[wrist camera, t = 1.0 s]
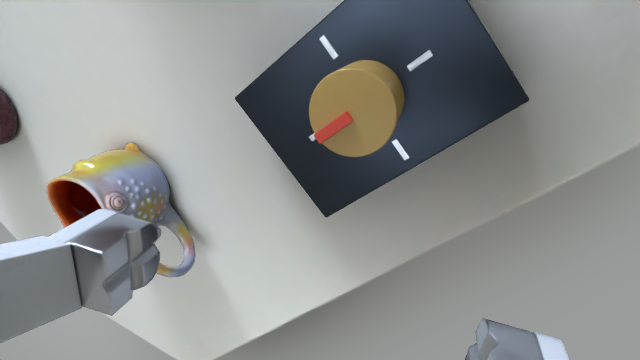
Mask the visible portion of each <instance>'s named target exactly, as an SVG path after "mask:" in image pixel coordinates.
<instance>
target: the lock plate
mask: <svg viewBox="0 0 640 360" xmlns="http://www.w3.org/2000/svg"><path fill="white" fill-rule="evenodd" d="M360 60H372V61H377V62H380V63H382V64H384V65H386V66H387V67H389V68H390V69H391V70H392V71H393V72H394V73H395V74H396V75H397V76H398V78H399V80H400V82H401V84H402V87H403V91H404V106H403V110H402V113H401V115H400V117H399V120H398V122H397V124H396V127H395V129H394V131H393V134H392V135H391V137H390V139H389V140H388V141H387V143H386V144H385V145H384V146H383V147H381V148H380V149H379V150H377V151H375V152H374V153H372V154H369V155H366V156H361V157H348V156H343V155H340V154H337V153H335V152H333V151H331V150H330V149H328V148H327V147H326V146H325V145H323V144H322V143H321V144H319V142H318V141H317V140H316V138H315V137H314V134H315V133H314V131H313V129H312V126H311V123H310V118H309V105H310V100H311V96H312V94H313V92H314V90H315V88H316V87H317V85H318V84H319V83H320V81H321V80H323V79H324V78H325V77H326V76H328V75H329V74H331V73H333V72H335V71H337V70H339V69H341V68H343V67H345V66H347V65H349V64H351V63H353V62H356V61H360ZM235 100H236V101H237V102H238V103H239V105H240V106H241V107H242V109H243V110H244V111H245V113H246V114H247V115H248V117H249V118H250V119H251V120H252V122H253V123H254V124H255V126H256V127H257V128H258V130H259V131H260V132H261V134H262V135H263V136H264V137H265V139H266V140H267V141H268V143H269V144H270V145H271V147H272V148H273V149H274V151H275V152H276V153H277V155H278V156H279V157H280V158H281V160H282V161H283V162H284V164H285V165H286V166H287V168H288V169H289V170H290V172H291V173H292V174H293V175H294V177H295V178H296V179H297V181H298V182H299V183H300V185H301V186H302V187H303V189H304V190H305V191H306V193H307V194H308V195H309V196H310V198H311V199H312V200H313V202H314V203H315V204H316V206H317V207H318V208H319V210H320V211H321V212H322V213H323V215H324V216H325V217H328V216H330V215H332V214H334V213H335V212H337V211H339V210H340V209H342V208H344V207H346V206H347V205H349V204H351V203H353V202H354V201H356V200H358V199H360V198H361V197H363V196H365V195H366V194H368V193H370V192H372V191H373V190H375V189H377V188H379V187H380V186H382V185H384V184H385V183H387V182H389V181H391V180H392V179H394V178H396V177H398V176H399V175H401V174H403V173H405V172H406V171H408V170H410V169H411V168H413V167H415V166H417V165H418V164H420V163H422V162H424V161H425V160H427V159H429V158H430V157H432V156H434V155H436V154H437V153H439V152H441V151H443V150H444V149H446V148H448V147H449V146H451V145H453V144H455V143H456V142H458V141H460V140H462V139H463V138H465V137H467V136H469V135H470V134H472V133H474V132H475V131H477V130H479V129H481V128H482V127H484V126H486V125H488V124H489V123H491V122H493V121H494V120H496V119H498V118H500V117H501V116H503V115H505V114H507V113H508V112H510V111H512V110H514V109H515V108H517V107H519V106H520V105H522V104H524V103H526V102H527V101H529V98H528V96H527V94H526V93H525V91H524V90H523V88H522V86H521V85H520V83H519V82H518V80H517V78H516V77H515V75H514V74H513V72H512V70H511V69H510V67H509V66H508V64H507V62H506V61H505V59H504V58H503V56H502V54H501V53H500V51H499V50H498V48H497V47H496V45H495V43H494V42H493V40H492V39H491V37H490V35H489V34H488V32H487V31H486V29H485V27H484V26H483V24H482V23H481V21H480V19H479V18H478V16H477V15H476V13H475V11H474V10H473V8H472V7H471V5H470V3H469V2H468V0H344V1H343V2H342V3H341V4H340V5H339V6H337V7H336V8H335V9H334V10H333V11H332V12H331V13H330V14H328V15H327V16H326V17H325V18H324V19H323V20H322V21H321V22H319V23H318V24H317V25H316V26H315V27H314V28H313V29H312V30H310V31H309V32H308V33H307V34H306V35H305V36H304V37H303V38H301V39H300V40H299V41H298V42H297V43H296V44H295V45H294V46H292V47H291V48H290V49H289V50H288V51H287V52H286V53H285V54H283V55H282V56H281V57H280V58H279V59H278V60H277V61H276V62H274V63H273V64H272V65H271V66H270V67H269V68H268V69H267V70H265V71H264V72H263V73H262V74H261V75H260V76H259V77H258V78H256V79H255V80H254V81H253V82H252V83H251V84H250V85H249V86H247V87H246V88H245V89H244V90H243V91H242V92H241V93H240V94H239V95H237V96H236V97H235Z"/></svg>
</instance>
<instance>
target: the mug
mask: <svg viewBox="0 0 640 360" xmlns="http://www.w3.org/2000/svg"><path fill="white" fill-rule="evenodd" d="M46 192H47V196H48V199H49V202H50V204H51V206H52V208H53V209H54V211H55V213H56V215H57V217H58V218H59V220H60V221H61V223H62V224H63V226H64V227H67V226H69V225H71V224H73V223H75V222H76V221H78V220H80V219H82V218H84V217H86V216H87V215H89V214H91V213H93V212H95V211H96V210H98V209H108V210H111V211H115V212H118V213H120V214H121V213H122V214H125V215H128V216H131V217H135V218H138V219H141V220H144V221H147V222H151V223H153V224H154V225H155V226H157V228H158V237H160V236H161V229H160V228H159V227H158V226H166V227H168V228H169V229H170V230H171V231H172V232H173V233H174V234H175V235H176V236H177V238H178V239H179V240H180V242H181V244H182V246H183V252H184V257H183V262H182V264H181V265H180V266H177V267H167V266H165V265H163V264H161V263H159V267H158V270H157V272H156V273H157V274H159V275H162V276H166V277H179V276H182V275H184V274H186V273H187V272H188V271H189V270H190V269H191V268H192V266H193V264H194V262H195V246H194V242H193V239H192V237H191V235H190V233H189V231H188V229H187V227H186V226H185V224H184V223H183V221H182V220H181V218H180V217H179V215H178V214H177V213H176V211H175V210H174V209H173V208H172V206H171V205H170V202H169V198H170V189H169V185H168V182H167V179H166V177H165V175H164V173H163V172H162V170H161V169H160V167H159V166H158V165H157V164H156V163H155V162H154V161H153V160H152V159H151V158H149V157H148V156H147V155H145V154H144V153H142V152H141V151H140V150H139V148H138V146H137V145H136V144H134V143H128V144H127V145H126V147H125V148H124V149H117V150H110V151H106V152H102V153H100V154H97V155H95V156H93V157H91V158H89V159H87V160H80V161H77V162H76V163H75V164H74V165H73V168H72V170H71V171H70V172H69V173H67V174H64V175H62V176H59V177H57V178H55V179H53V180H51V181H50V182H49V183H48V184H47V188H46Z"/></svg>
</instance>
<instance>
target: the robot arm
mask: <svg viewBox="0 0 640 360" xmlns="http://www.w3.org/2000/svg"><path fill="white" fill-rule="evenodd" d="M158 238H159V237H158V228H157V226H155V225H154V224H153V223H151V222H147V221H144V220H141V219H138V218H135V217H131V216H128V215H125V214H122V213H121V214H120V213H118V212H115V211H111V210H108V209H98V210H96V211H95V212H93V213H91V214H89V215H87V216H86V217H84V218H82V219H80V220H78V221H76V222H75V223H73V224H71V225H69V226H67V227H65V228H64V229H62V230H60V231H58V232H56V233H54V234H53V235H51V236H49V237H45V236H39V237H34V238H29V239H24V240H19V241H14V242H10V243H5V244H0V343H2V342H5V341H7V340H9V339H11V338H14V337H16V336H18V335H21V334H23V333H25V332H28V331H30V330H32V329H35V328H37V327H39V326H41V325H44V324H46V323H48V322H51V321H53V320H55V319H57V318H60V317H62V316H65V315H67V314H69V313H71V312H74V311H76V310H78V309H80V308H82V306H83V307H86V308H89V309H93V310H96V311H99V312H102V313H105V314H108V315H111V316H112V315H113V314H114V313H116V312H117V311H118V310H119V309H120V308H121V307H122V306H123V305H124V304H126V303H127V302H128V301H129V300H130V299H131V298H132V294H133V290H136V289H138V288H141V287H144V286H145V285H147V284H148V283H149V282H150V281H151V280H152V279H153V277H154V275H155V273H156V272H157V270H158V267H159V262H160V252H159V251H158V249H157V247H156V246H155V244H154V243H155V242H156V241H157V239H158ZM476 340H477V343H476V344H474V345H472V346H470V347H469V350H468V353H467V355H466V358H465V360H569V357H568V355H567V352H566V350H565V347H564V345H563V342H562V341H561V340H560V339H558V338H555V337H551V336H548V335H543V334H540V333H536V332H530V331H526V330H523V329H519V328H515V327H512V326H508V325H505V324H501V323H498V322H494V321H491V320H487V319H482V320H481V321H480V323H479V325H478V327H477V330H476Z"/></svg>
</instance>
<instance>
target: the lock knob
mask: <svg viewBox="0 0 640 360" xmlns="http://www.w3.org/2000/svg"><path fill="white" fill-rule="evenodd" d="M403 106H404V91H403V87H402V84H401V82H400V80H399V78H398V76H397V75H396V74H395V73H394V72H393V71H392V70H391V69H390V68H389V67H387V66H386V65H384V64H382V63H380V62H377V61H372V60H360V61H356V62H353V63H351V64H349V65H347V66H345V67H343V68H341V69H339V70H337V71H335V72H333V73H331V74H329V75H328V76H326V77H325V78H324V79H323V80H321V81H320V83H319V84H318V85H317V87H316V88H315V90H314V92H313V94H312V96H311V100H310V105H309V118H310V123H311V126H312V129H313V131H314V133H315V134H314V137H315V138H316V140H317V141H318V142H319V144H321V143H322V144H323V145H325V146H326V147H327V148H328V149H330V150H331V151H333V152H335V153H337V154H340V155H343V156H348V157H361V156H366V155H369V154H372V153H374V152H375V151H377V150H379V149H380V148H381V147H383V146H384V145H385V144H386V143H387V141H388V140H389V139H390V137H391V135H392V134H393V131H394V129H395V127H396V124H397V122H398V120H399V117H400V115H401V113H402V110H403Z"/></svg>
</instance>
